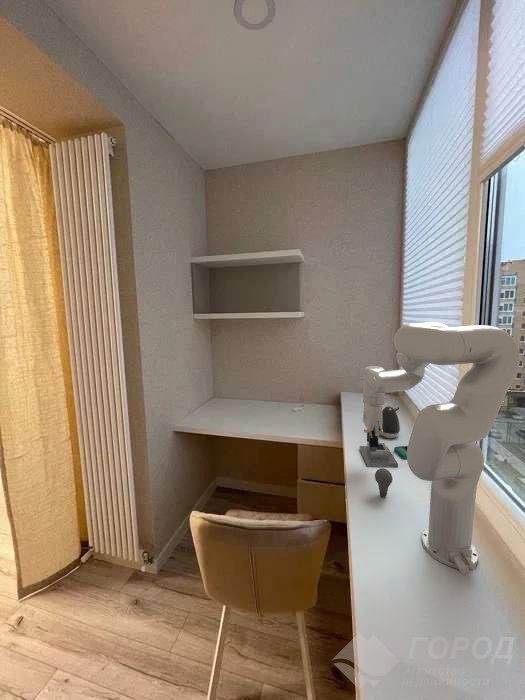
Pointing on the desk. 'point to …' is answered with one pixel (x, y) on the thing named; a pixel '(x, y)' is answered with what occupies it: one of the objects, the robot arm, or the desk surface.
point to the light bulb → (383, 480)
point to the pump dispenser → (390, 422)
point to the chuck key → (369, 436)
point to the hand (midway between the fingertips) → (372, 443)
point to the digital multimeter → (401, 451)
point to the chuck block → (378, 456)
